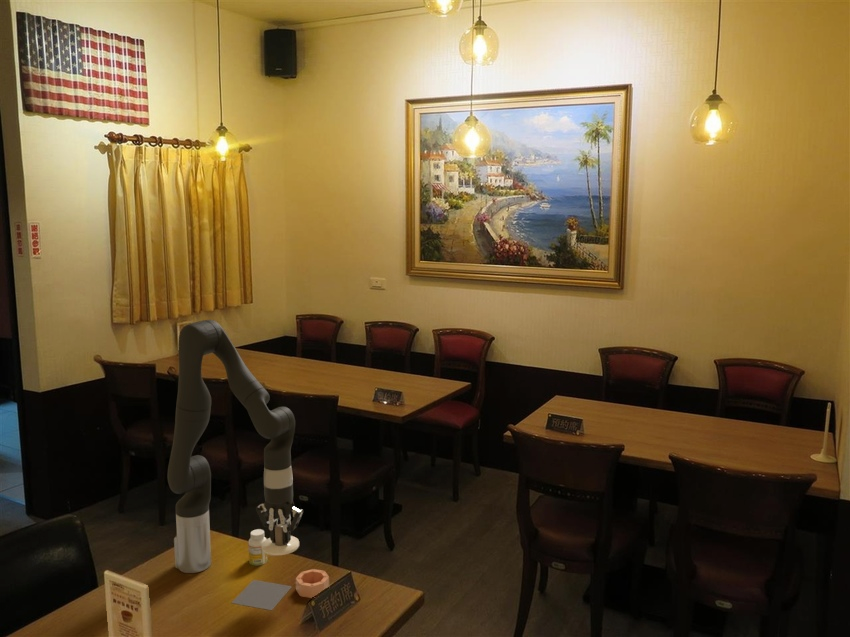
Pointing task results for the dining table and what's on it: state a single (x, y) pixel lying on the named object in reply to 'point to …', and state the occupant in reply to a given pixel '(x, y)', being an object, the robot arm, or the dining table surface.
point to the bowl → (311, 582)
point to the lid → (279, 543)
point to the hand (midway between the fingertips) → (280, 542)
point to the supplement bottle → (257, 548)
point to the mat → (261, 595)
